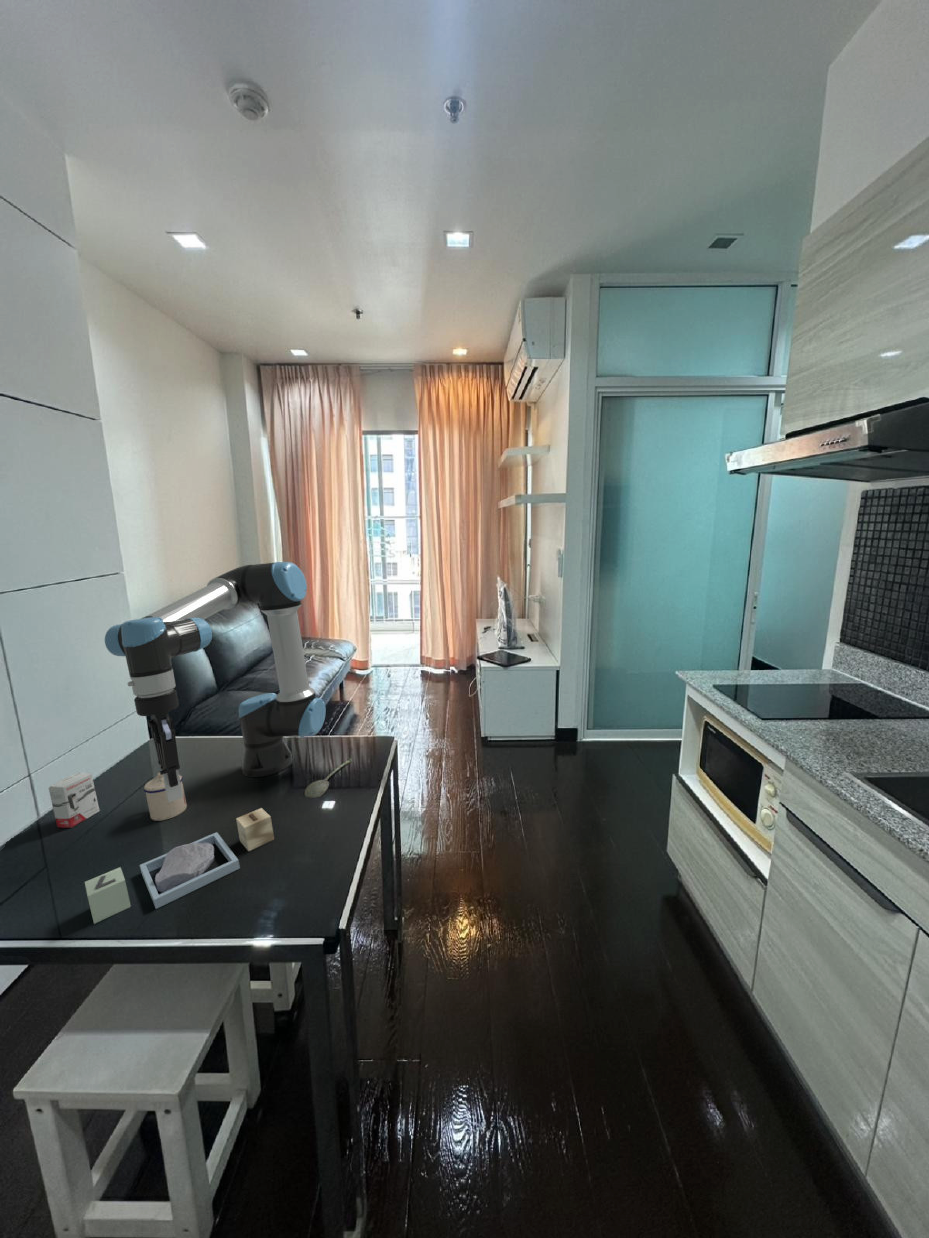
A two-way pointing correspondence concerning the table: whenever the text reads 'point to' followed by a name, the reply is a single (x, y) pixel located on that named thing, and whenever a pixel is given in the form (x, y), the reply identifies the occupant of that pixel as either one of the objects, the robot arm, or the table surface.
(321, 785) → the soupspoon
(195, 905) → the table surface
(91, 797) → the ink box
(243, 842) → the numbered birch block
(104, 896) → the numbered sage-green block
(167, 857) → the stone block
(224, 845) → the slate-blue holder
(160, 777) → the teacup with lid
